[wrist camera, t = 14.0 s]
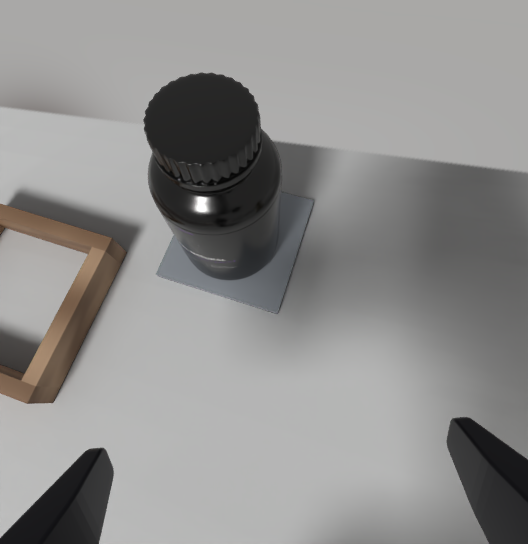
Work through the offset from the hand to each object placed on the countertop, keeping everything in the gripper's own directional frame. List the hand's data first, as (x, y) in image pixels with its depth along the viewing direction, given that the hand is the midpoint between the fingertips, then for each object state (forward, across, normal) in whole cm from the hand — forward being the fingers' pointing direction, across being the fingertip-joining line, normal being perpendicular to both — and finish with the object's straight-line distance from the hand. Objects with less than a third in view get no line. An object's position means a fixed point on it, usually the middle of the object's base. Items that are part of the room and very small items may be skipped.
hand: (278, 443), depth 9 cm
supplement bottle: (+18, +2, +1) cm, 18 cm away
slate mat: (+18, +2, +1) cm, 18 cm away
